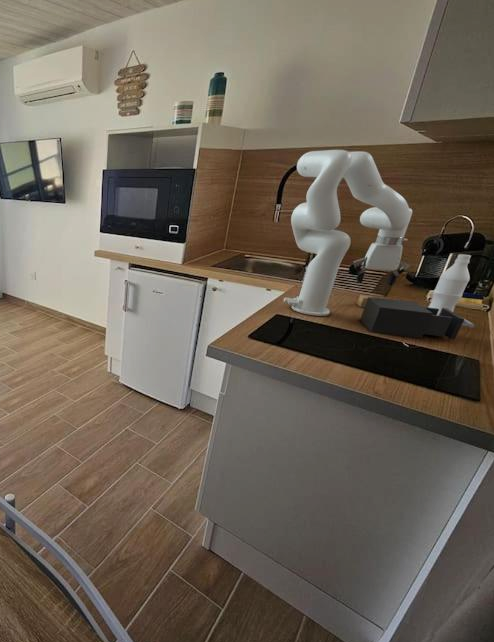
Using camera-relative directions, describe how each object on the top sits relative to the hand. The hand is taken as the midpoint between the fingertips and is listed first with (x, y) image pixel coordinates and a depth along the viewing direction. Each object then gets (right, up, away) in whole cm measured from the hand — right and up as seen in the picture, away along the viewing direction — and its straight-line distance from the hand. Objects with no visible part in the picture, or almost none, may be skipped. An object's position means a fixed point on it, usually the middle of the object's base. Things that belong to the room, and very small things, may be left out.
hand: (373, 283), depth 149 cm
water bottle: (+11, -16, -12) cm, 23 cm away
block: (-1, -9, +4) cm, 10 cm away
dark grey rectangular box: (-11, -18, -18) cm, 28 cm away
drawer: (-1, -19, -23) cm, 30 cm away
